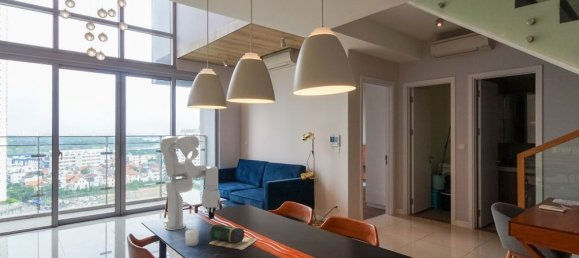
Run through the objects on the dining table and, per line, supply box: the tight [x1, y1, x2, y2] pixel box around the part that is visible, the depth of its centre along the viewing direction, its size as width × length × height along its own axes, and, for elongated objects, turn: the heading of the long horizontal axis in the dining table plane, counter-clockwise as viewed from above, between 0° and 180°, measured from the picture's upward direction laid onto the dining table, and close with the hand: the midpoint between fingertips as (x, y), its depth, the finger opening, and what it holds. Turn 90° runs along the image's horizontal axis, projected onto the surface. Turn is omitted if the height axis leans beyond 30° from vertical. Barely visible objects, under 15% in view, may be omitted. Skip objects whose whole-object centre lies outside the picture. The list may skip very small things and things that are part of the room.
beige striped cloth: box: [208, 236, 258, 251], centre depth 175 cm, size 22×16×1 cm
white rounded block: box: [184, 228, 199, 247], centre depth 173 cm, size 7×7×7 cm
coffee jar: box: [209, 223, 245, 243], centre depth 176 cm, size 10×8×19 cm
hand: (211, 218), depth 182 cm, fingers closed
